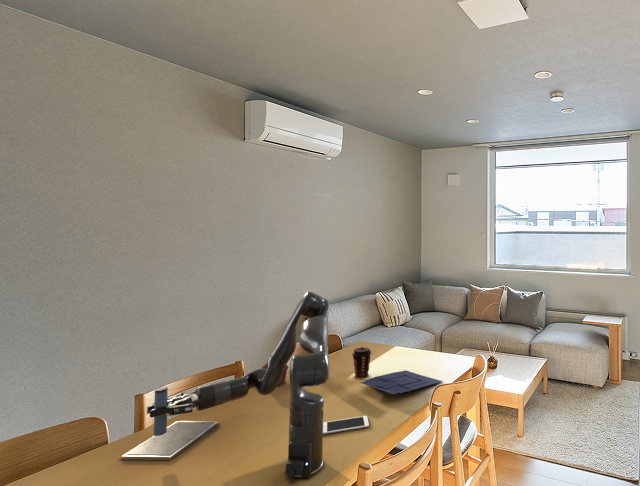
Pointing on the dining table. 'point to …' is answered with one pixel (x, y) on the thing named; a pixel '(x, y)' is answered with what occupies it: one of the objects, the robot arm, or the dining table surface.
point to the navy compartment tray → (399, 382)
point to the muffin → (282, 375)
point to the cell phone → (345, 424)
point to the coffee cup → (361, 362)
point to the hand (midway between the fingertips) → (149, 411)
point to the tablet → (170, 441)
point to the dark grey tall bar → (160, 401)
